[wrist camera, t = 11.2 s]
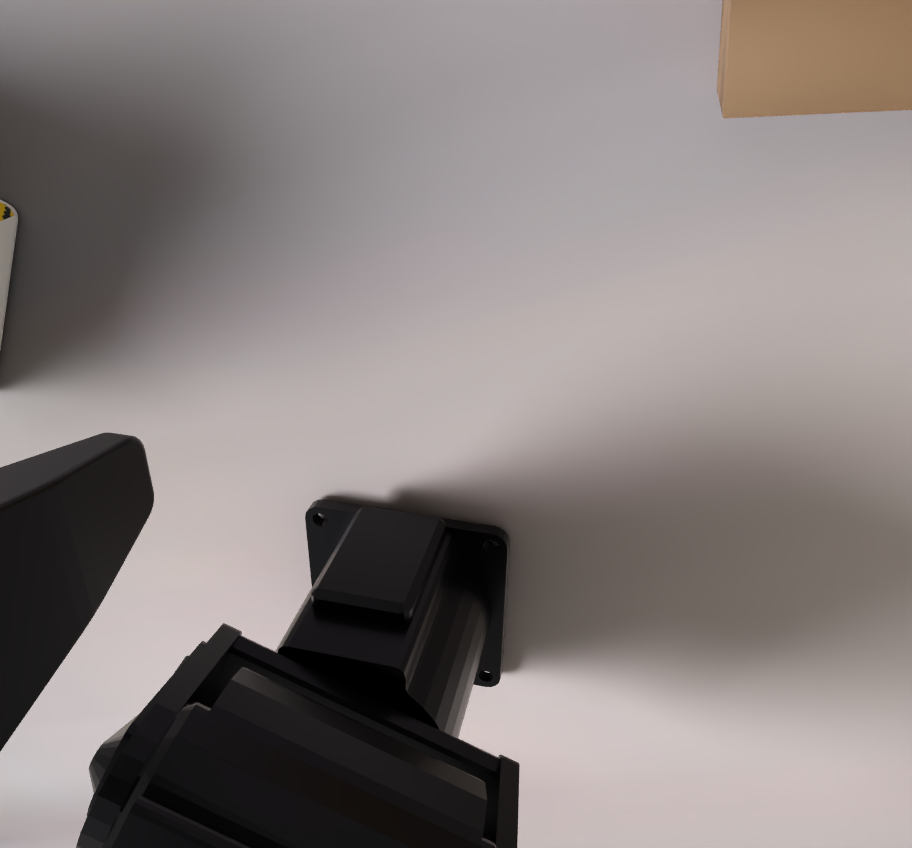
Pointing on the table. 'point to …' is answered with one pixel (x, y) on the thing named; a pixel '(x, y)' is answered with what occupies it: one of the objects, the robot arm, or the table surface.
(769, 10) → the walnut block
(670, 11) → the table surface
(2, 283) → the medicine bottle
